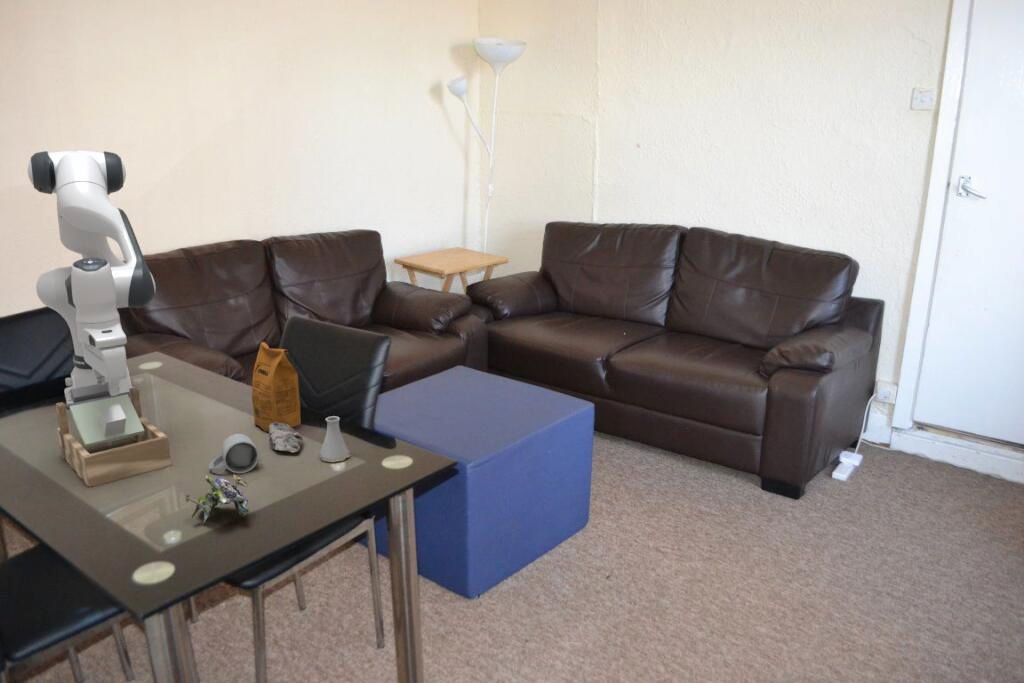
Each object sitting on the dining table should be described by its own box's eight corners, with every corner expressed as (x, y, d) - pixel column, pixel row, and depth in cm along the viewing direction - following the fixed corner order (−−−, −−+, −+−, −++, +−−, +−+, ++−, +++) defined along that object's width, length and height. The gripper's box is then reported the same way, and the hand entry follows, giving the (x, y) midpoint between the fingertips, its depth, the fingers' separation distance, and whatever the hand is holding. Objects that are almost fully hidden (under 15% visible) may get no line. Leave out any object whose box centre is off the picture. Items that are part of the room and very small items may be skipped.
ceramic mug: (254, 457, 196) (250, 427, 194) (260, 470, 189) (257, 439, 187) (207, 466, 191) (203, 435, 189) (212, 479, 184) (208, 448, 182)
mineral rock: (303, 455, 197) (302, 438, 196) (269, 459, 195) (267, 442, 194) (302, 433, 211) (301, 417, 210) (270, 436, 209) (268, 420, 208)
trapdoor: (61, 398, 194) (61, 391, 192) (123, 385, 203) (124, 378, 201) (82, 449, 187) (83, 443, 185) (145, 434, 196) (147, 427, 194)
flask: (313, 457, 196) (310, 418, 193) (338, 449, 201) (336, 410, 198) (331, 466, 191) (328, 426, 188) (356, 457, 196) (354, 418, 194)
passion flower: (243, 538, 170) (263, 504, 163) (191, 547, 162) (210, 512, 156) (226, 493, 175) (245, 459, 169) (175, 500, 168) (193, 464, 161)
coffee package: (282, 415, 223) (276, 337, 217) (306, 427, 215) (301, 346, 209) (248, 424, 216) (241, 344, 210) (272, 437, 208) (265, 354, 202)
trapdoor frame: (61, 455, 196) (52, 400, 192) (138, 436, 208) (131, 384, 204) (89, 487, 180) (80, 427, 176) (171, 465, 191) (164, 408, 187)
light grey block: (98, 422, 191) (99, 408, 188) (118, 417, 194) (119, 404, 190) (104, 436, 189) (106, 422, 186) (124, 432, 192) (126, 418, 189)
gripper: (71, 324, 189) (79, 381, 193) (98, 343, 175) (106, 404, 179) (100, 320, 194) (108, 376, 197) (129, 338, 179) (136, 397, 183)
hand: (107, 389), depth 188 cm, fingers open, 8 cm apart
